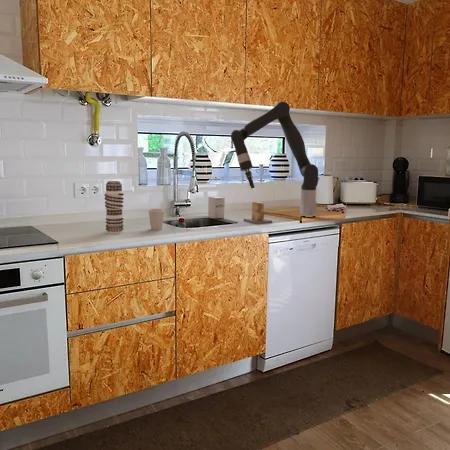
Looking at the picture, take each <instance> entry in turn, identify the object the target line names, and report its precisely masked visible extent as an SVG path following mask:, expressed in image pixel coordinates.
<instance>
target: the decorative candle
mask: <svg viewBox="0 0 450 450" xmlns="http://www.w3.org/2000/svg"><path fill="white" fill-rule="evenodd" d="M124 195H125V194H124V193H123V183H121V181H119V180H109V181H107V182H106V183H105V194H104V200H105V202H104V207H105V210H106V211H105V212H106V215H105V223H106V224H105V227H106V228H105V233H106V234H111V235H117V234H118V235H119V234H123V233H124V224H123V223H124V216H123V209H124V205H123V203H124V197H123V196H124Z"/></svg>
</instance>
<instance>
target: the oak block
mask: <svg viewBox="0 0 450 450" xmlns="http://www.w3.org/2000/svg"><path fill="white" fill-rule="evenodd" d="M251 207H252V208H251V218H252V219H253V220H264V219H265V217H264V216H265V202H261V201H252V204H251Z"/></svg>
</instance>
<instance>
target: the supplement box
mask: <svg viewBox="0 0 450 450" xmlns="http://www.w3.org/2000/svg"><path fill="white" fill-rule="evenodd" d="M207 204H208V206H207V207H208V208H207V211H208V212H207V214H208V215H207V216H208V218H212V219H214V220H215V219H224V218H225V197H224V196H209V197H208V201H207Z"/></svg>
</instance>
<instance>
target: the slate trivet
mask: <svg viewBox="0 0 450 450" xmlns="http://www.w3.org/2000/svg"><path fill="white" fill-rule="evenodd" d="M243 222H247V223H250V224H255V225H256V224H258V225H259V224H271V223H273V220H272V219H267V218H264V220H253V219H252V217H250V218H243Z"/></svg>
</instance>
